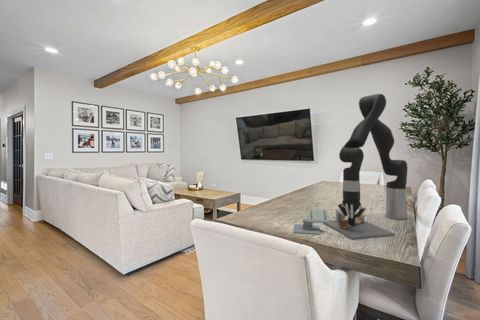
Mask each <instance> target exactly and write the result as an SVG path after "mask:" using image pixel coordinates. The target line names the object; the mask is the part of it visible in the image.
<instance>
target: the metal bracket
mask: <svg viewBox="0 0 480 320" xmlns="http://www.w3.org/2000/svg"><path fill="white" fill-rule="evenodd" d="M304 219H315V220H325V221H330V220H331V219H330V218H329V213H328V211H327V210H326V209H323V210H319V209H318V208H316V210H315V209H314V210H313V209H312V208H310V209H308V210H307V217H306V218H304Z"/></svg>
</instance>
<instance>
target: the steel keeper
mask: <svg viewBox="0 0 480 320" xmlns="http://www.w3.org/2000/svg"><path fill="white" fill-rule="evenodd" d="M344 218H347V216H344V214H343V213H342V211H341V210H340V209H335V220H336V221H337V222H339V220H340V219H344Z"/></svg>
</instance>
